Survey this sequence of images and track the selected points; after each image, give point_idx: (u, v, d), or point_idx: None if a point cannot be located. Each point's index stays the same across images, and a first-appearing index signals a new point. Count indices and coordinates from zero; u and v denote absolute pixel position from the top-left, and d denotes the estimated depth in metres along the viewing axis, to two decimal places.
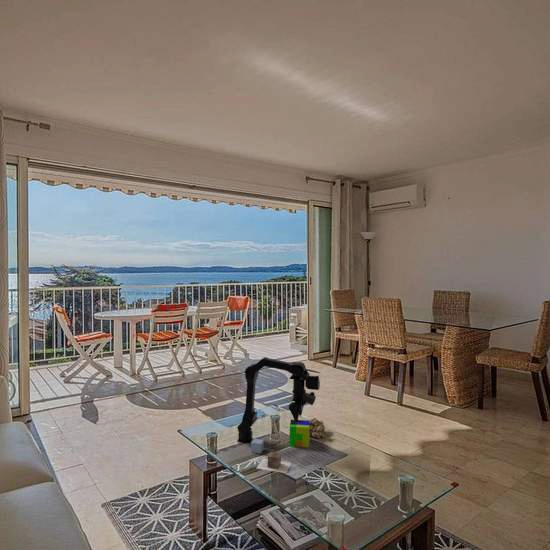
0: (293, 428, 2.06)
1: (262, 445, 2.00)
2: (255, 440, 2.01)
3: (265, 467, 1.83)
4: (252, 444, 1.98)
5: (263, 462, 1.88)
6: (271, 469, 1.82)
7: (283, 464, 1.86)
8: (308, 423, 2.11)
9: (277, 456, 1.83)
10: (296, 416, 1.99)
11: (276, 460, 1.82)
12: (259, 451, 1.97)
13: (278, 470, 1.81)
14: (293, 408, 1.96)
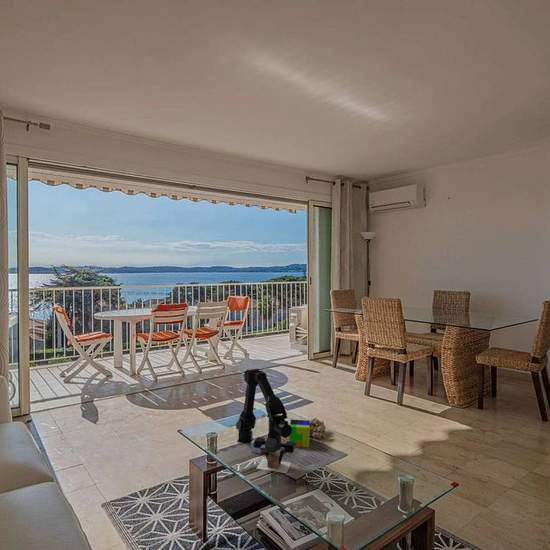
0: (293, 428, 2.06)
1: None
2: None
3: (265, 467, 1.83)
4: (252, 444, 1.98)
5: (263, 462, 1.88)
6: (271, 469, 1.82)
7: (283, 464, 1.86)
8: (308, 423, 2.11)
9: (277, 456, 1.83)
10: None
11: (276, 460, 1.82)
12: (259, 451, 1.97)
13: (278, 470, 1.81)
14: None
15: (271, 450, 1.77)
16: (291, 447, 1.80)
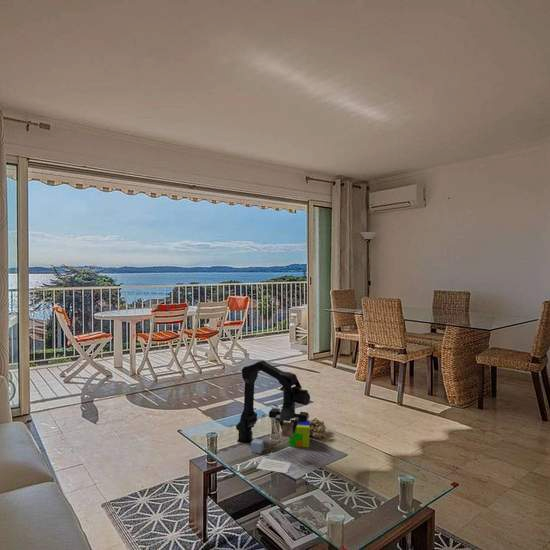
0: None
1: (262, 445, 2.00)
2: (255, 440, 2.01)
3: (265, 467, 1.83)
4: (252, 444, 1.98)
5: (263, 462, 1.88)
6: (271, 469, 1.82)
7: (283, 464, 1.86)
8: (308, 423, 2.11)
9: (291, 425, 1.93)
10: None
11: (291, 429, 1.92)
12: (259, 451, 1.97)
13: (278, 470, 1.81)
14: None
15: (286, 419, 1.87)
16: (305, 417, 1.90)
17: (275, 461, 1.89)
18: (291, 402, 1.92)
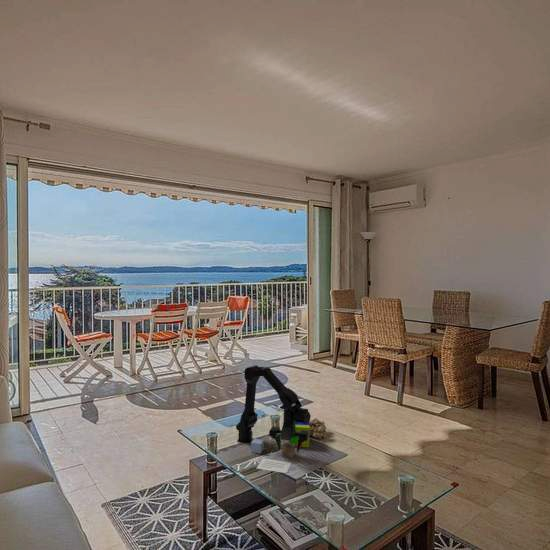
0: None
1: (262, 445, 2.00)
2: (255, 440, 2.01)
3: (265, 467, 1.83)
4: (252, 444, 1.98)
5: (263, 462, 1.88)
6: (271, 469, 1.82)
7: (283, 464, 1.86)
8: (308, 423, 2.11)
9: (291, 447, 1.94)
10: None
11: (291, 450, 1.93)
12: (259, 451, 1.97)
13: (278, 470, 1.81)
14: None
15: (286, 438, 1.88)
16: (305, 435, 1.91)
17: (275, 461, 1.89)
18: (291, 421, 1.93)
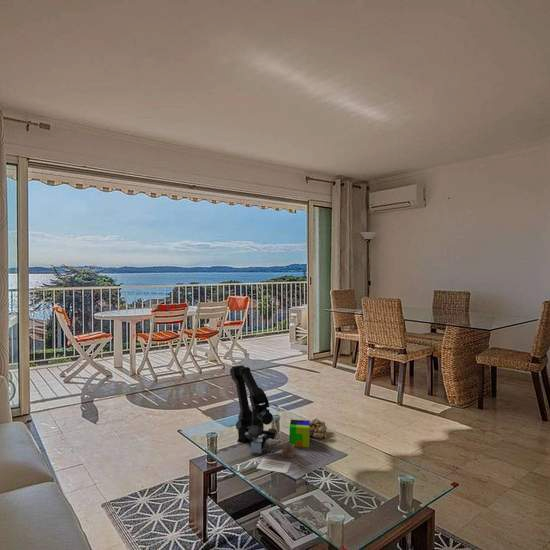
0: (293, 428, 2.06)
1: None
2: (255, 440, 2.01)
3: (265, 467, 1.83)
4: (252, 444, 1.98)
5: (263, 462, 1.88)
6: (271, 469, 1.82)
7: (283, 464, 1.86)
8: (308, 423, 2.11)
9: (291, 447, 1.94)
10: None
11: (291, 450, 1.93)
12: (259, 451, 1.97)
13: (278, 470, 1.81)
14: None
15: (254, 436, 1.92)
16: (272, 434, 1.95)
17: (275, 461, 1.89)
18: (259, 419, 1.97)
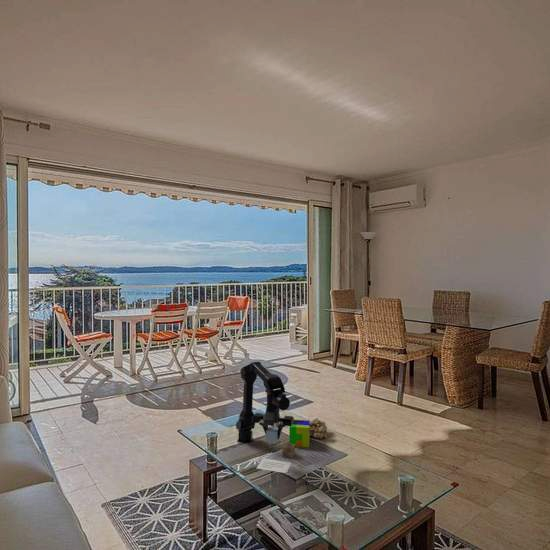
0: (293, 428, 2.06)
1: None
2: (270, 428, 1.87)
3: (265, 467, 1.83)
4: (267, 432, 1.85)
5: (263, 462, 1.88)
6: (271, 469, 1.82)
7: (283, 464, 1.86)
8: (308, 423, 2.11)
9: (291, 447, 1.94)
10: None
11: (291, 450, 1.93)
12: (275, 439, 1.84)
13: (278, 470, 1.81)
14: None
15: (269, 423, 1.79)
16: (289, 420, 1.82)
17: (275, 461, 1.89)
18: (275, 406, 1.84)
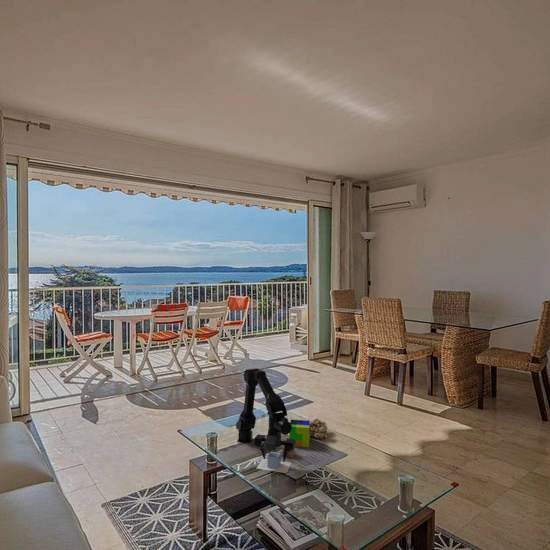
0: (293, 428, 2.06)
1: (279, 459, 1.85)
2: (272, 453, 1.86)
3: (265, 467, 1.83)
4: (269, 458, 1.83)
5: (263, 462, 1.88)
6: (271, 469, 1.82)
7: (283, 464, 1.86)
8: (308, 423, 2.11)
9: None
10: None
11: (291, 450, 1.93)
12: (276, 465, 1.82)
13: (278, 470, 1.81)
14: None
15: (271, 447, 1.77)
16: (291, 444, 1.80)
17: None
18: (277, 429, 1.82)
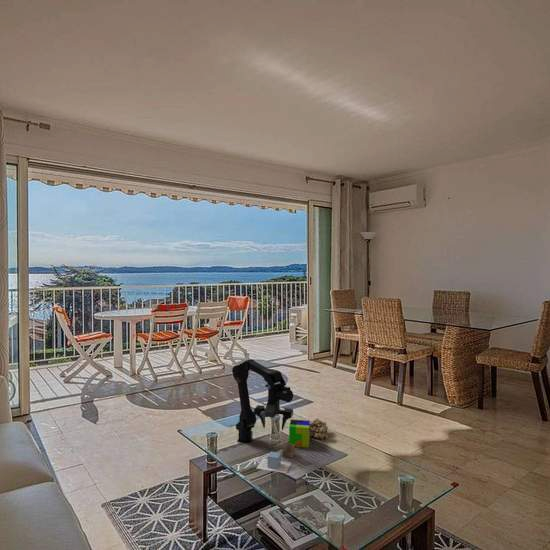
0: (293, 428, 2.06)
1: (279, 459, 1.85)
2: (272, 453, 1.86)
3: (265, 467, 1.83)
4: (269, 458, 1.83)
5: (263, 462, 1.88)
6: (271, 469, 1.82)
7: (283, 464, 1.86)
8: (308, 423, 2.11)
9: (291, 447, 1.94)
10: None
11: (291, 450, 1.93)
12: (276, 465, 1.82)
13: (278, 470, 1.81)
14: None
15: (270, 415, 1.90)
16: (289, 413, 1.93)
17: None
18: (276, 399, 1.95)
